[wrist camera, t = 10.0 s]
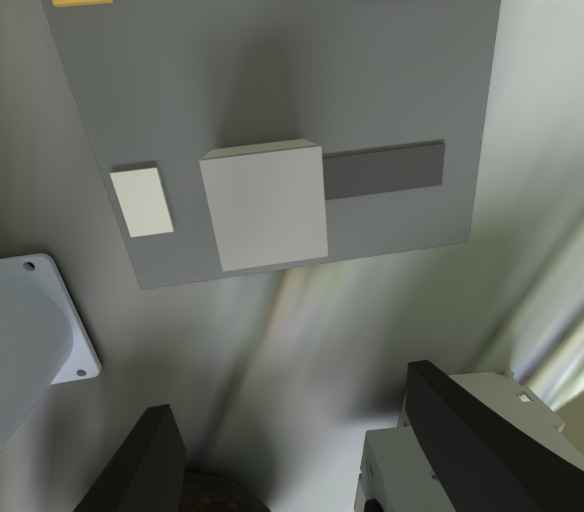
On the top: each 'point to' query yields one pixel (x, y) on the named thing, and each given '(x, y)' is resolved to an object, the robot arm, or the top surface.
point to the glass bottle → (216, 495)
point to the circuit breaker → (414, 465)
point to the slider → (266, 203)
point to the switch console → (282, 114)
